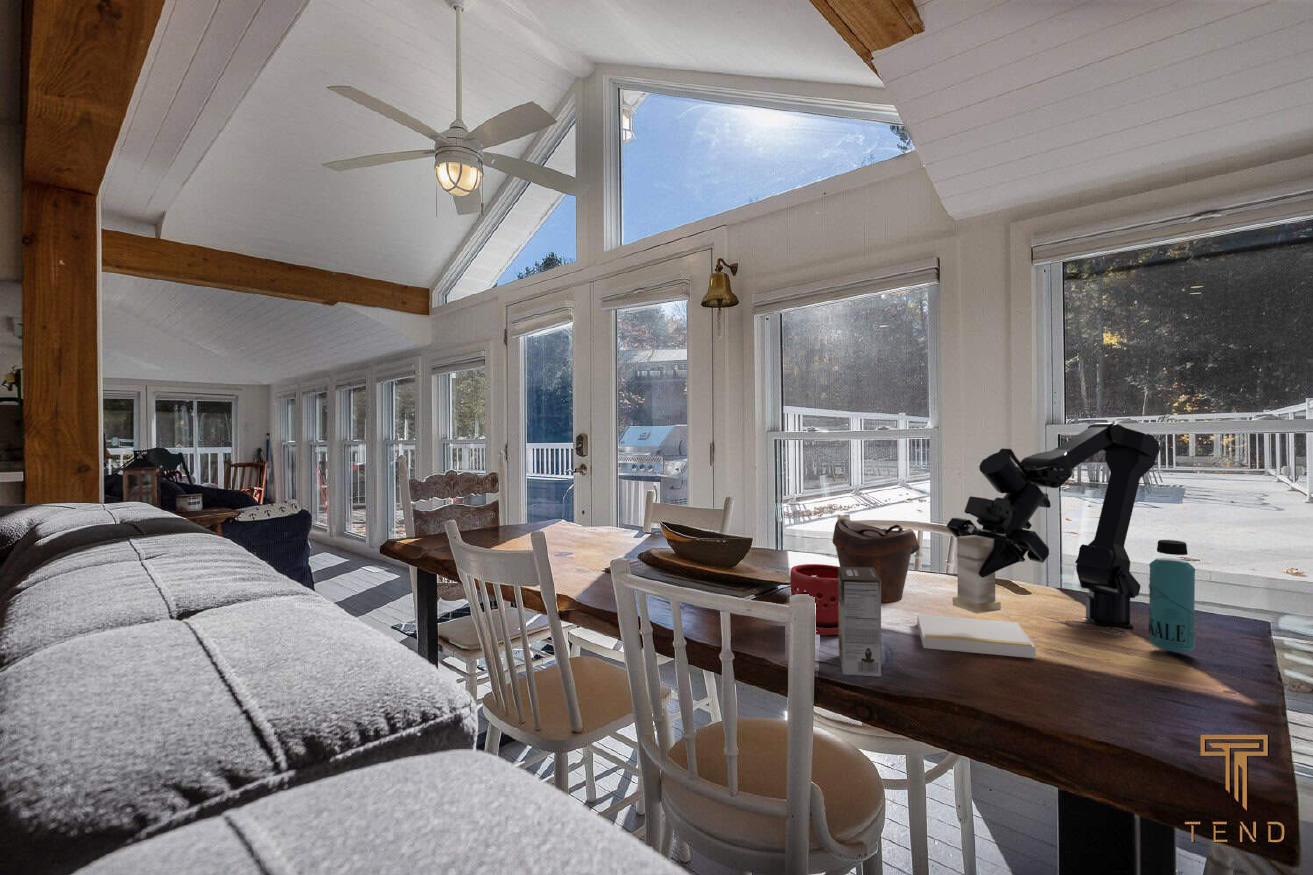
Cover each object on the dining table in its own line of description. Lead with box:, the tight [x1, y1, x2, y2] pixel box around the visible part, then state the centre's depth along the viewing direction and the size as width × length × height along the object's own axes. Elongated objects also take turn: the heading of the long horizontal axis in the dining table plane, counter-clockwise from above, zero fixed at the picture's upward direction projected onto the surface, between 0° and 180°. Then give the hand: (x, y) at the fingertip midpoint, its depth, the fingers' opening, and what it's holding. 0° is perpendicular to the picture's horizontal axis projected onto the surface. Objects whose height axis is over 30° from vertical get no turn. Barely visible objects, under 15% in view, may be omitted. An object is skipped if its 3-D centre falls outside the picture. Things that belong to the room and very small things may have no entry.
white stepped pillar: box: [952, 535, 1002, 614], centre depth 115 cm, size 6×6×13 cm
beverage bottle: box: [1148, 539, 1197, 652], centre depth 109 cm, size 6×7×20 cm
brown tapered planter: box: [831, 518, 921, 603], centre depth 148 cm, size 18×20×18 cm
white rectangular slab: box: [916, 614, 1036, 659], centre depth 118 cm, size 18×14×2 cm
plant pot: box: [789, 563, 839, 636], centre depth 125 cm, size 13×13×12 cm
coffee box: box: [838, 566, 882, 678], centre depth 106 cm, size 9×6×16 cm
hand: (970, 572), depth 115 cm, fingers closed on white stepped pillar, 4 cm apart
